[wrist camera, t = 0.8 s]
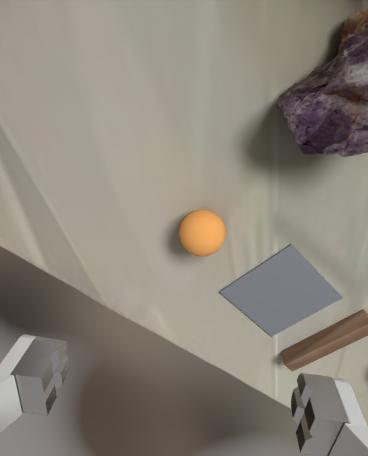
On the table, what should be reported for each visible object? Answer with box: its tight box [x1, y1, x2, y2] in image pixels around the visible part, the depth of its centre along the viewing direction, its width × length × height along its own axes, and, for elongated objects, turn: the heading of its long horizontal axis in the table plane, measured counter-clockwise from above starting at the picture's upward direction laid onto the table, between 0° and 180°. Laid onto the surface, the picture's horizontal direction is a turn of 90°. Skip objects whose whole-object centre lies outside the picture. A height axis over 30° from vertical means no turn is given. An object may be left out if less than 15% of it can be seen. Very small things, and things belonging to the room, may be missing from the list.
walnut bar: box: [281, 309, 368, 371], centre depth 49 cm, size 2×14×2 cm, turn 134°
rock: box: [276, 11, 368, 157], centre depth 29 cm, size 12×9×10 cm
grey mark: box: [219, 244, 342, 337], centre depth 46 cm, size 12×12×1 cm
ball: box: [179, 210, 226, 256], centre depth 38 cm, size 5×5×5 cm
